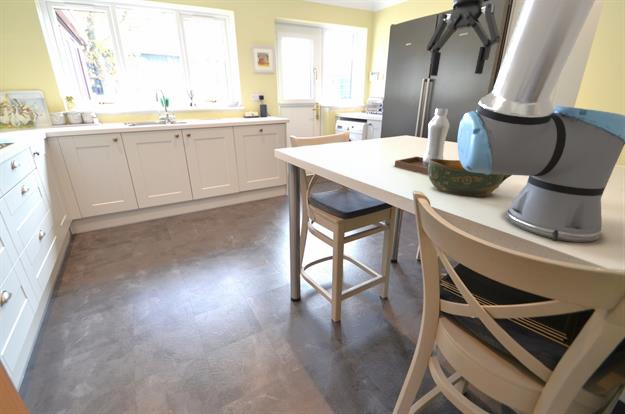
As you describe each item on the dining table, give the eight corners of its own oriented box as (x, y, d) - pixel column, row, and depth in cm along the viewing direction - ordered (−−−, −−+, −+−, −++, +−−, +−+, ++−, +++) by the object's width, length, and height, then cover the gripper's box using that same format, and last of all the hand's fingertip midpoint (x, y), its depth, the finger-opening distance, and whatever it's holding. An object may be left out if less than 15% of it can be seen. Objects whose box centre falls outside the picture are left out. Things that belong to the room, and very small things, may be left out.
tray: (450, 180, 89) (451, 173, 88) (394, 166, 105) (395, 160, 104) (470, 174, 97) (472, 167, 96) (415, 162, 113) (416, 156, 112)
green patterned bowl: (502, 207, 68) (514, 166, 65) (421, 189, 81) (427, 154, 77) (511, 194, 78) (521, 158, 74) (436, 180, 90) (442, 148, 86)
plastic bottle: (443, 170, 97) (455, 109, 90) (423, 169, 98) (433, 109, 91) (439, 166, 103) (450, 108, 96) (419, 165, 104) (429, 108, 97)
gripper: (529, -22, 70) (506, 73, 77) (435, 2, 88) (424, 77, 96) (517, -30, 65) (494, 71, 73) (421, -4, 84) (411, 75, 91)
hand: (454, 74), depth 84 cm, fingers open, 13 cm apart
